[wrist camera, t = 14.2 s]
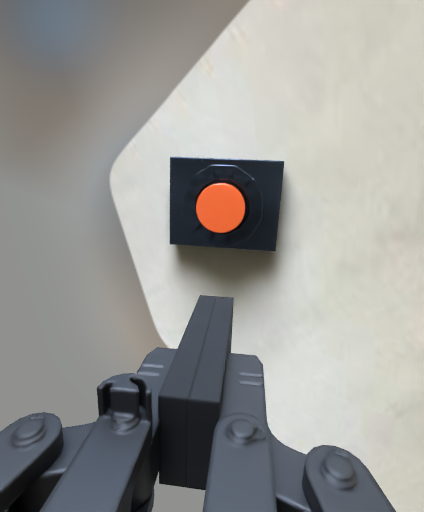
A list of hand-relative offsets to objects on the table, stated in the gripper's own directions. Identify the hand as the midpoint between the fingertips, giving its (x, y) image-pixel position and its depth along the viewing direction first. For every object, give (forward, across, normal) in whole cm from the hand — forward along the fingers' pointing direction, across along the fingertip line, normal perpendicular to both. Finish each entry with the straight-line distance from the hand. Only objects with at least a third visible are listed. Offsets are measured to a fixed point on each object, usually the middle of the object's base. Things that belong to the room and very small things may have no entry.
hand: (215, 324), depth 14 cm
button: (+14, -1, +4) cm, 15 cm away
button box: (+18, -1, +4) cm, 18 cm away
